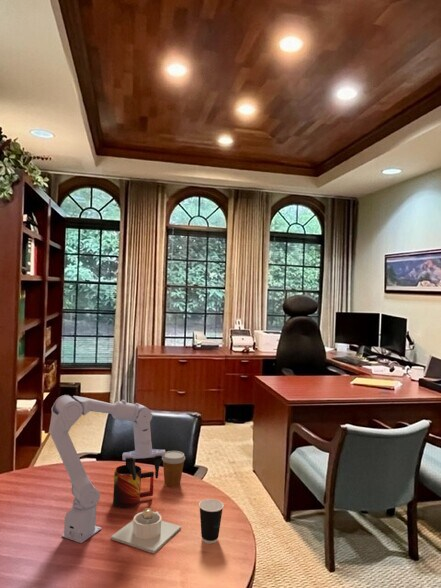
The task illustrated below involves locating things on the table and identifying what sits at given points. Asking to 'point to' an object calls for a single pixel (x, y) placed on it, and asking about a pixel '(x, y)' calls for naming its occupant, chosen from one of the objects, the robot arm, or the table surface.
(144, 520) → the white square-based fixture
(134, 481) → the mug
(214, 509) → the dixie cup
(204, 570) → the table surface
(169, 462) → the disposable coffee cup
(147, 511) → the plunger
